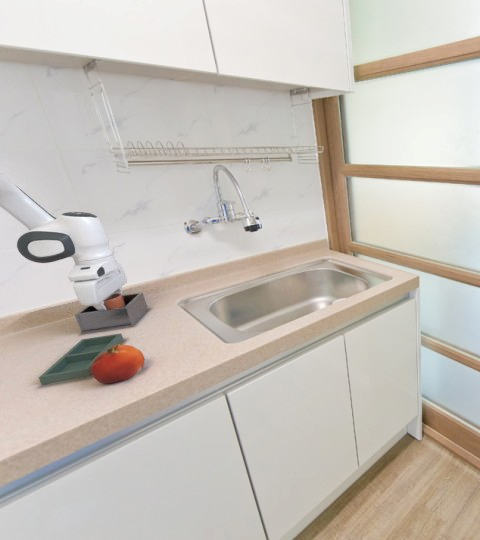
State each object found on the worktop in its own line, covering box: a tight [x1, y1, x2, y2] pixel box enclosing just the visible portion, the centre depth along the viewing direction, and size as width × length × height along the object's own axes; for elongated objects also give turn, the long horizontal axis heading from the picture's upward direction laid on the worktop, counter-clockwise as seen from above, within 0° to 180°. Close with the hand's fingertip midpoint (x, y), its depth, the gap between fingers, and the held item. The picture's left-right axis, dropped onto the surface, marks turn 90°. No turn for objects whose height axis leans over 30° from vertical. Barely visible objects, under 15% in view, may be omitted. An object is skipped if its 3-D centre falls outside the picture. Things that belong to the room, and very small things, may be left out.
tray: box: [38, 333, 124, 386], centre depth 84 cm, size 9×17×3 cm, turn 18°
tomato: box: [91, 343, 146, 384], centre depth 77 cm, size 9×9×8 cm
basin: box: [74, 292, 149, 335], centre depth 104 cm, size 13×13×7 cm
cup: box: [103, 293, 126, 310], centre depth 104 cm, size 6×6×8 cm
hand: (112, 307), depth 104 cm, fingers open, 8 cm apart
